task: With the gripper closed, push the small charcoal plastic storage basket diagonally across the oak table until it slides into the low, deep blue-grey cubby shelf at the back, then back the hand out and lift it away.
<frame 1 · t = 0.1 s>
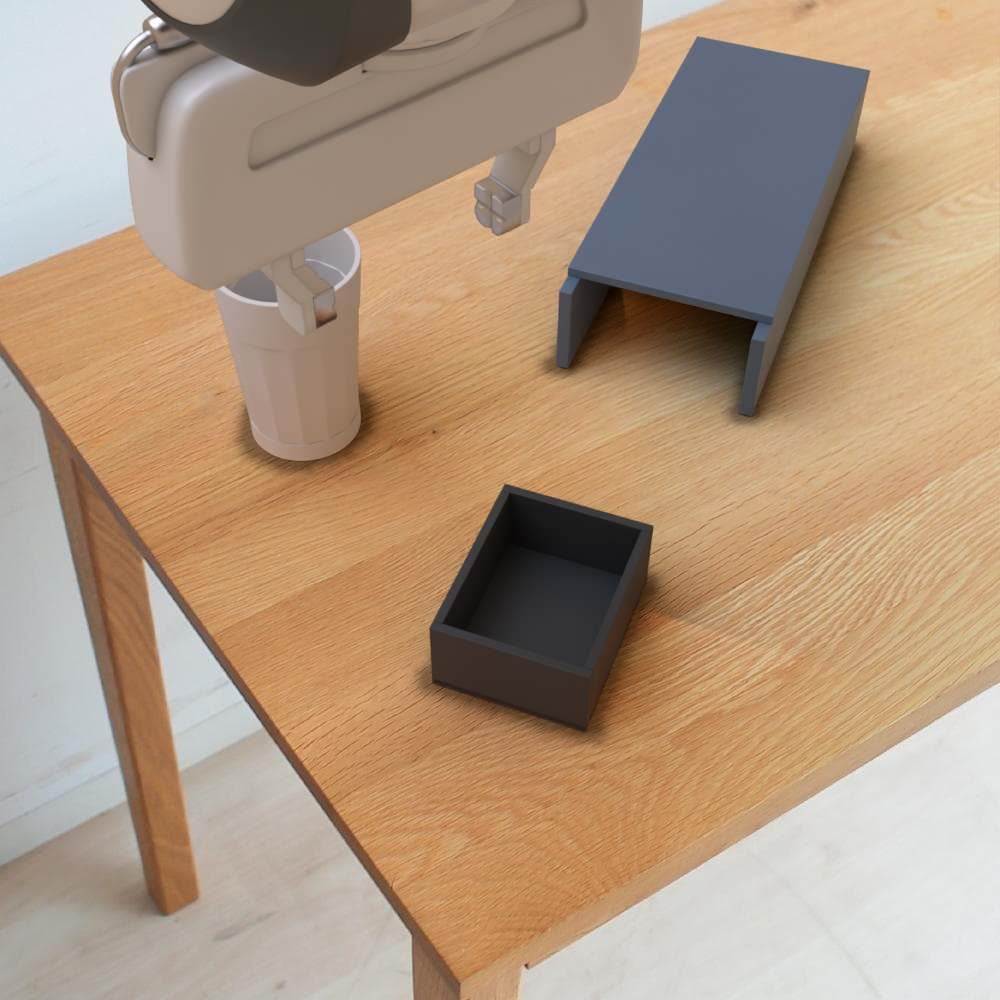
hand: (409, 270, 56), 23 cm above the table, tool pointing down, fingers open, 8 cm apart
cubby shelf: (714, 253, 94), on the table
basket: (542, 631, 73), on the table
cup: (306, 424, 84), on the table
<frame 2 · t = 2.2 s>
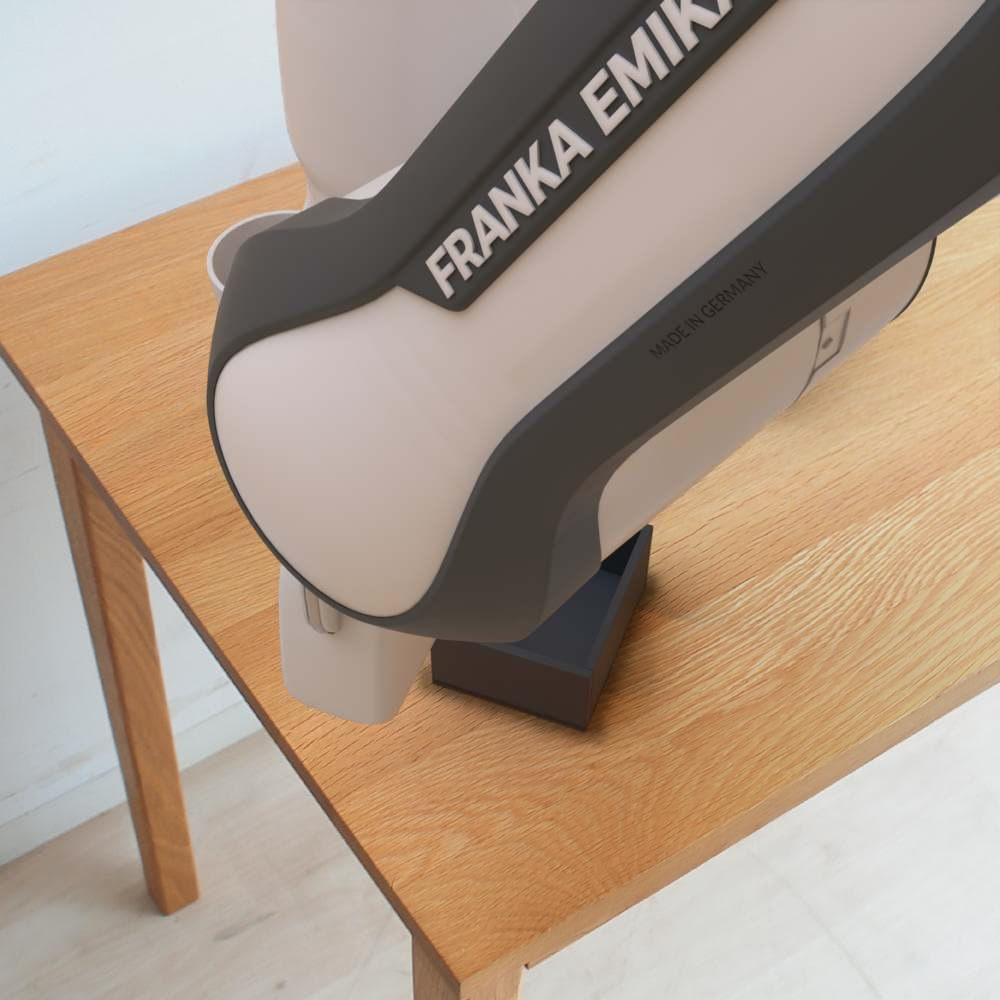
hand: (455, 588, 55), 15 cm above the table, tool pointing down, fingers closed
nothing on the table moved.
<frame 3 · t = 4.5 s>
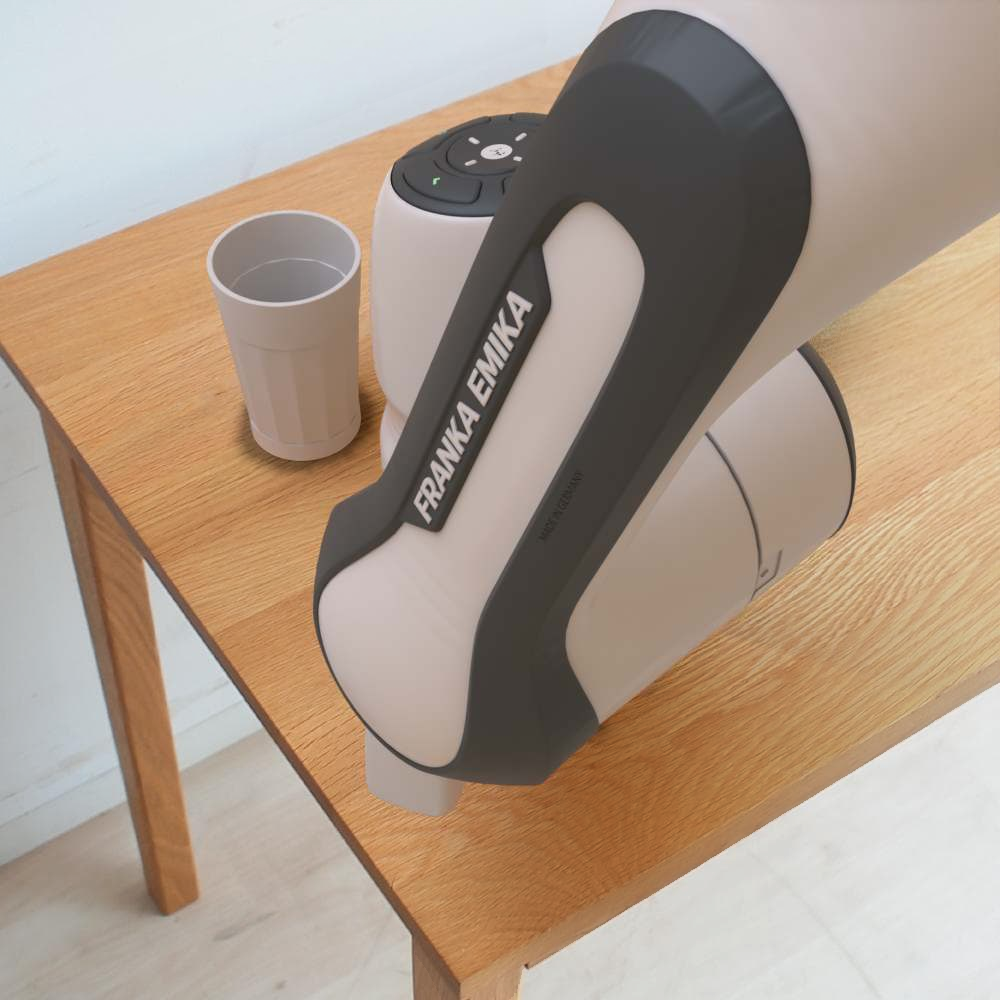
hand: (494, 691, 67), 3 cm above the table, tool pointing down, fingers closed
basket: (543, 627, 74), on the table, touching gripper
everything else where it was.
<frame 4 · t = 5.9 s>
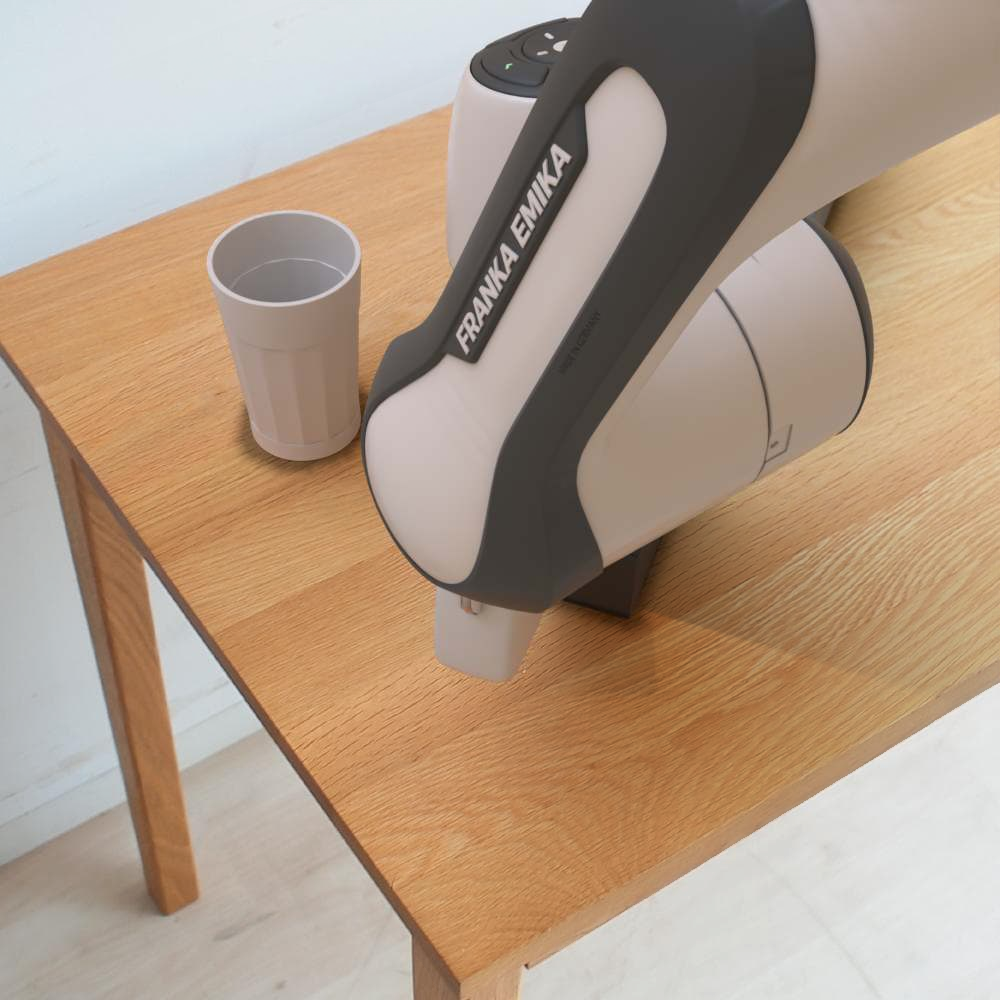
hand: (544, 583, 72), 3 cm above the table, tool pointing down, fingers closed
basket: (586, 530, 78), on the table, touching gripper
everything else where it was.
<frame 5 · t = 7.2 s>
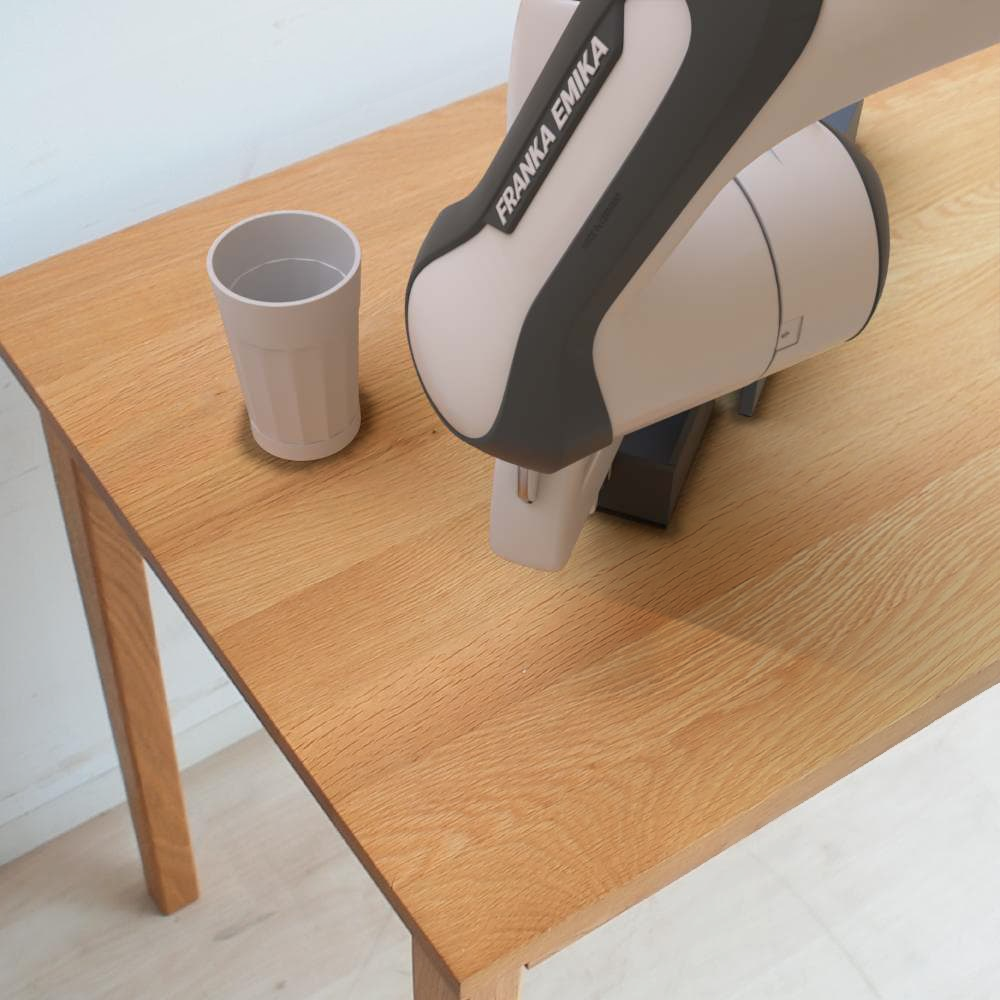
hand: (586, 493, 76), 3 cm above the table, tool pointing down, fingers closed
basket: (623, 449, 82), on the table, touching gripper
everything else where it was.
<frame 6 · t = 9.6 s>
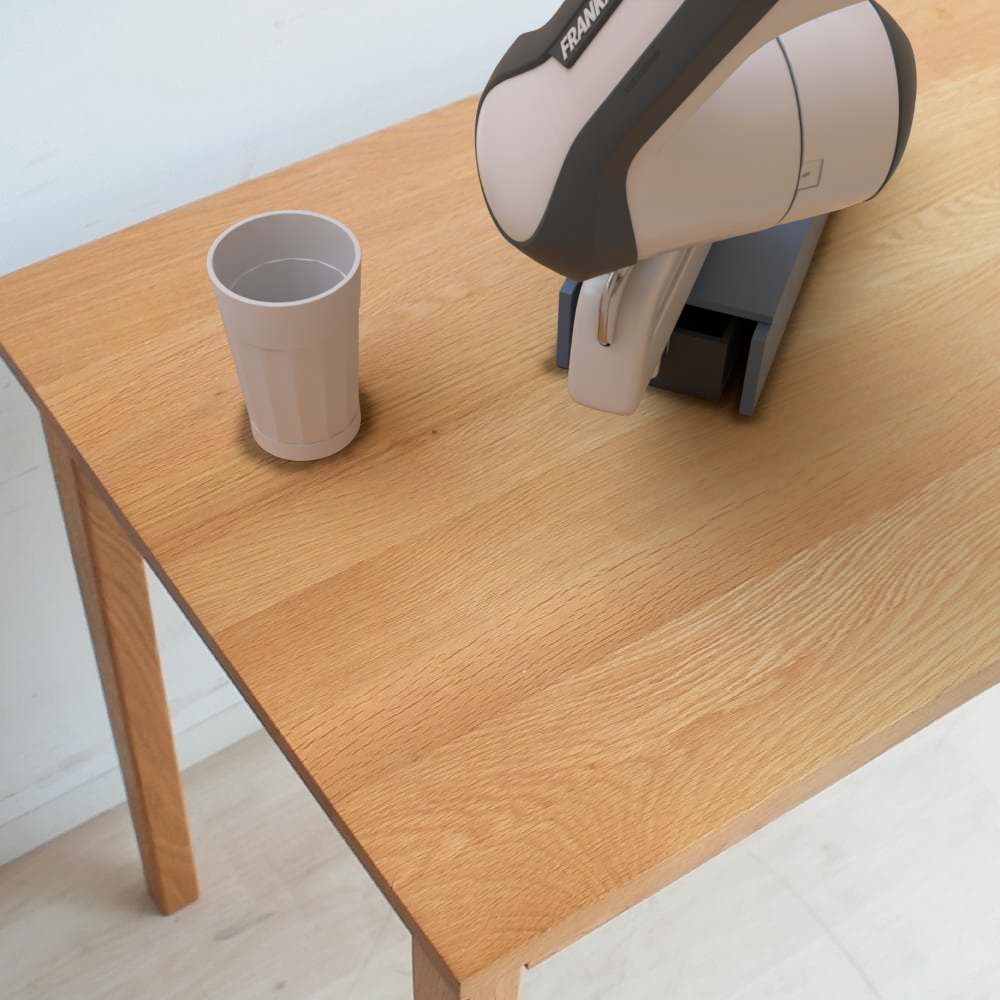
hand: (647, 363, 83), 3 cm above the table, tool pointing down, fingers closed
basket: (676, 334, 89), on the table, touching gripper
everything else where it was.
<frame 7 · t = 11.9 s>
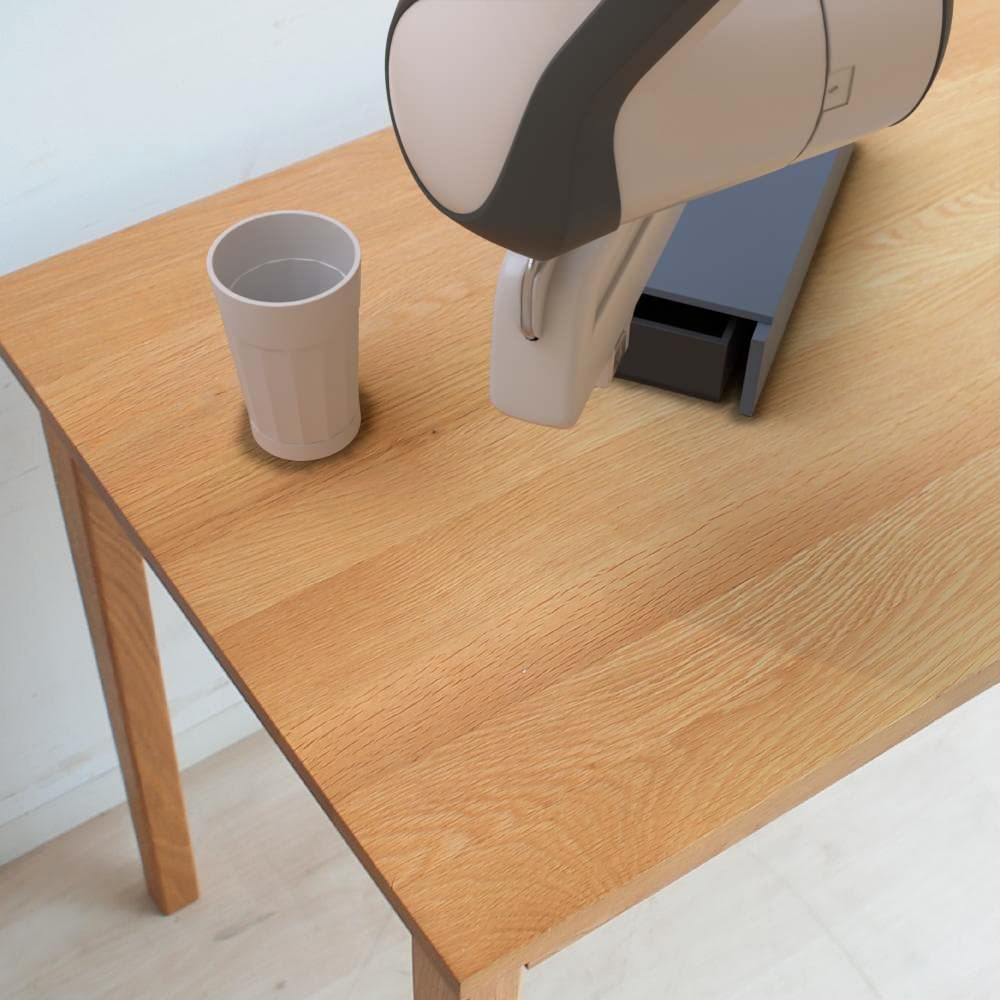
hand: (600, 366, 68), 13 cm above the table, tool pointing down, fingers closed
basket: (676, 334, 89), on the table
everything else where it was.
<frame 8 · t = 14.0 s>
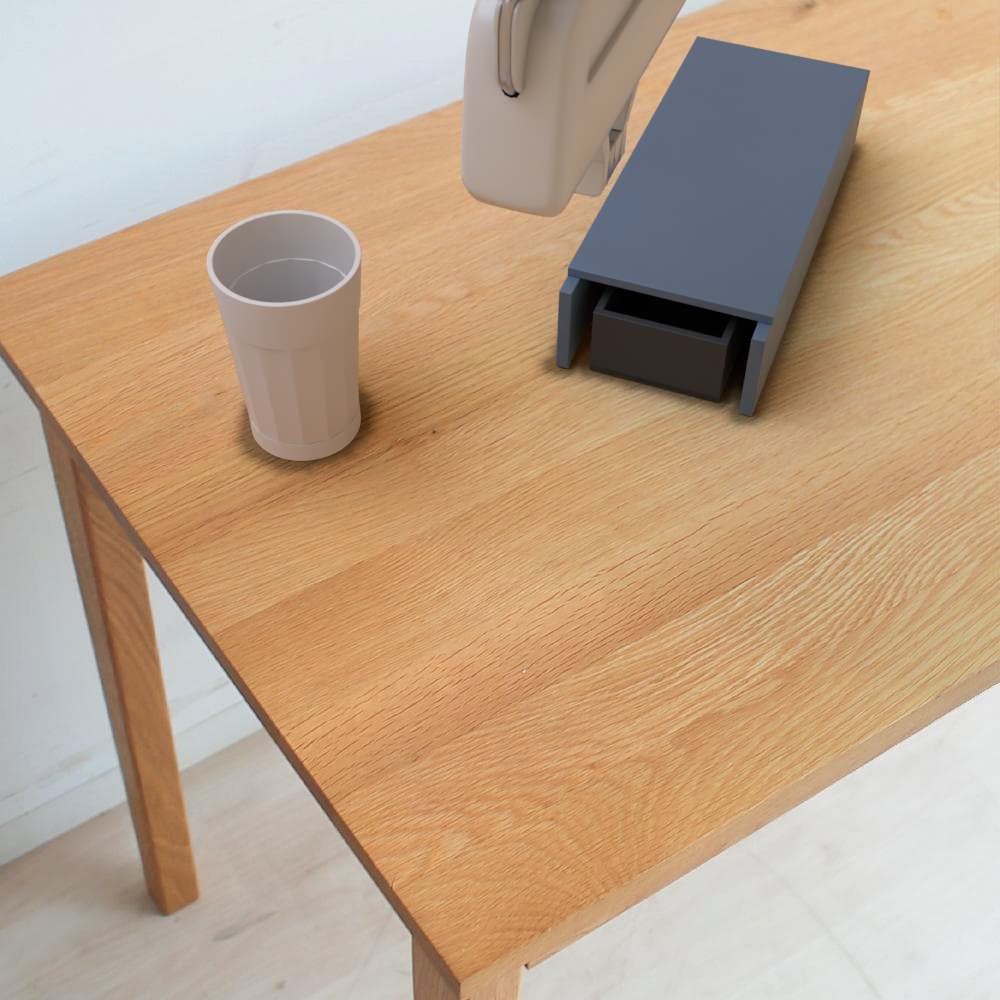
hand: (592, 175, 59), 24 cm above the table, tool pointing down, fingers closed
nothing on the table moved.
at the end: basket 8.6 cm from the cubby shelf (horizontally); basket tilted 0°; basket on the table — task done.
